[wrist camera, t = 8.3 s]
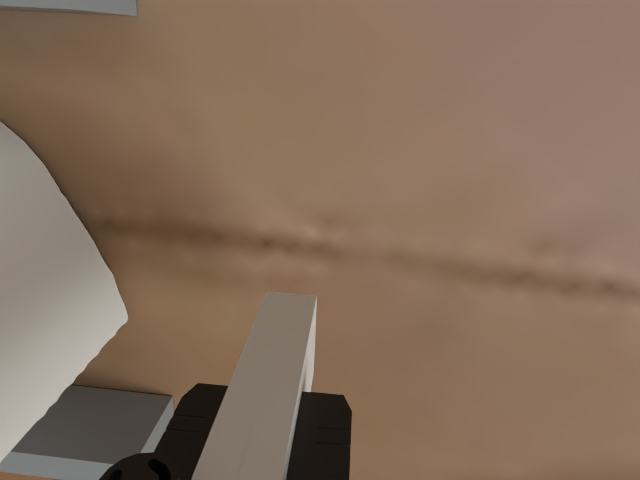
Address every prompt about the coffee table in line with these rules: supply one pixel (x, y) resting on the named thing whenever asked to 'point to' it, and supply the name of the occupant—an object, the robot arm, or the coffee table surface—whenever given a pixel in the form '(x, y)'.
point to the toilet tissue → (45, 292)
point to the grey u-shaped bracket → (79, 401)
